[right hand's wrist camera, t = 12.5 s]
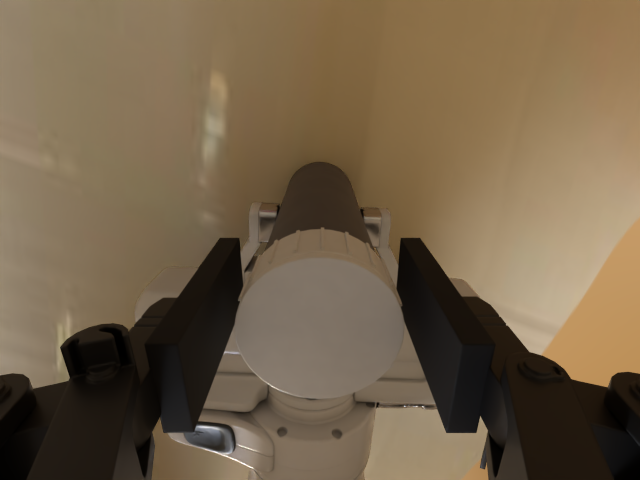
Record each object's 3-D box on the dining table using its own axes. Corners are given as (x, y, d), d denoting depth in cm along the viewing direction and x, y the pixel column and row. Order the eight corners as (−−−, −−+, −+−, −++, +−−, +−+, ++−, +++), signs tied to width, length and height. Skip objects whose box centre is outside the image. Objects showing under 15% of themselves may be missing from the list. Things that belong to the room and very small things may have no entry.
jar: (282, 166, 25) (228, 265, 10) (349, 158, 25) (392, 247, 10) (292, 228, 26) (258, 390, 12) (354, 221, 26) (398, 377, 12)
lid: (233, 236, 12) (214, 266, 10) (388, 218, 12) (404, 244, 9) (261, 359, 14) (250, 407, 11) (395, 346, 13) (408, 392, 11)
